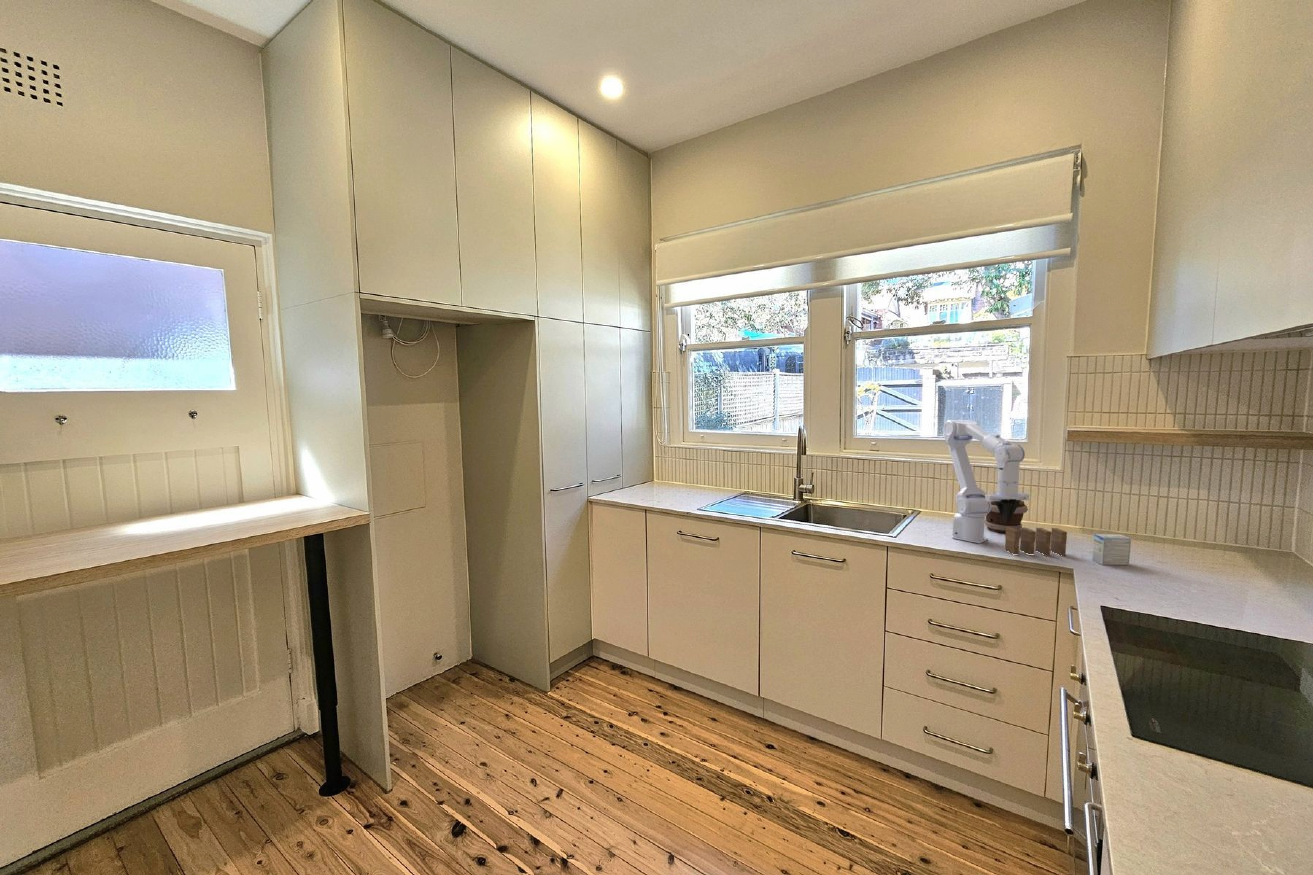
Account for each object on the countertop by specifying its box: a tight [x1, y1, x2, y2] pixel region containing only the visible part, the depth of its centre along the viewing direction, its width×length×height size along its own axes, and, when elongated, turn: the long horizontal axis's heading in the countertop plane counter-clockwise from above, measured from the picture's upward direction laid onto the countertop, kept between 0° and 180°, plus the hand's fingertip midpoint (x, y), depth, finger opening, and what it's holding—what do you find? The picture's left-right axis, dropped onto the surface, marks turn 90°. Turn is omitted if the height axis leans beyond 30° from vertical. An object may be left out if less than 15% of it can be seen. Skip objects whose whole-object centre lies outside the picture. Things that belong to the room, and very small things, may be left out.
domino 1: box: [1004, 527, 1021, 555], centre depth 177 cm, size 2×5×8 cm, turn 175°
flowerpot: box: [984, 492, 1029, 534], centre depth 203 cm, size 14×15×20 cm
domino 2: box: [1019, 527, 1036, 555], centre depth 176 cm, size 2×5×8 cm, turn 175°
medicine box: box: [1092, 533, 1132, 566], centre depth 166 cm, size 8×4×9 cm, turn 84°
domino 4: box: [1050, 527, 1068, 557], centre depth 175 cm, size 2×5×8 cm, turn 175°
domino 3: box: [1034, 527, 1051, 556], centre depth 176 cm, size 2×5×8 cm, turn 175°
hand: (1005, 522), depth 176 cm, fingers closed
